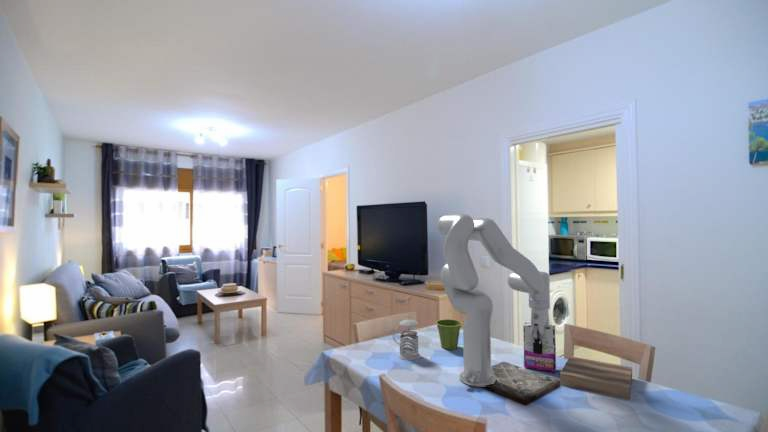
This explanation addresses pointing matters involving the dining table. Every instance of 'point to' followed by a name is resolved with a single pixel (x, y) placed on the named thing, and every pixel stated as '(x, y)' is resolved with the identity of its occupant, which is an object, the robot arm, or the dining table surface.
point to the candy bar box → (548, 355)
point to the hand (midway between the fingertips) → (539, 350)
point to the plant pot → (449, 332)
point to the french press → (408, 340)
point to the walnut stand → (597, 377)
